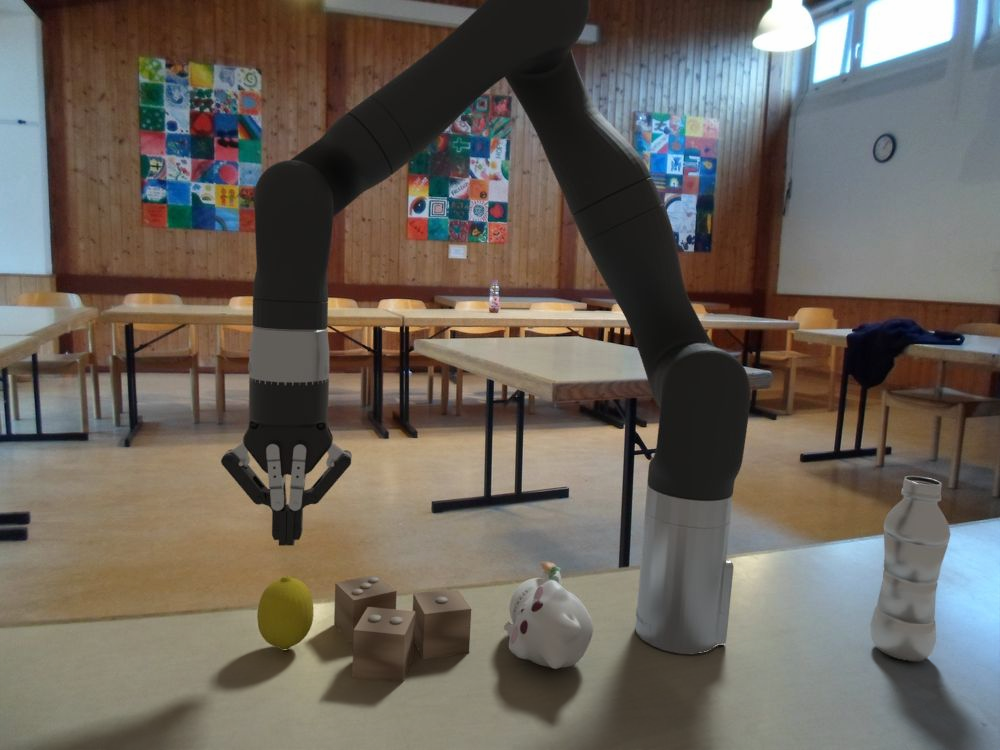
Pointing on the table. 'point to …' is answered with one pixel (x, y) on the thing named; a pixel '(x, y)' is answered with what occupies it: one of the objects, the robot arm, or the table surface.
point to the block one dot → (441, 623)
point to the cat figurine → (548, 621)
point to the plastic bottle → (911, 572)
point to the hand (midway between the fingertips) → (286, 542)
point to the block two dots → (383, 644)
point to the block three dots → (360, 601)
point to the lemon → (285, 612)
